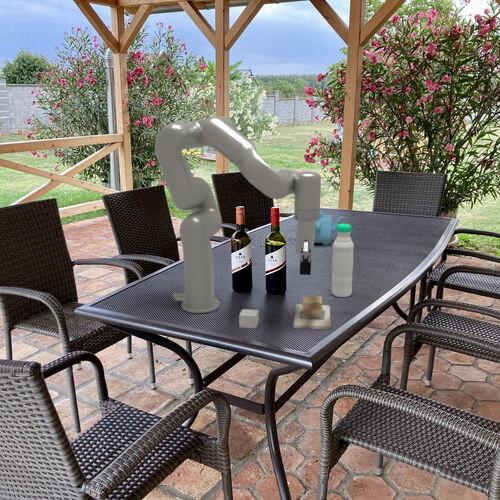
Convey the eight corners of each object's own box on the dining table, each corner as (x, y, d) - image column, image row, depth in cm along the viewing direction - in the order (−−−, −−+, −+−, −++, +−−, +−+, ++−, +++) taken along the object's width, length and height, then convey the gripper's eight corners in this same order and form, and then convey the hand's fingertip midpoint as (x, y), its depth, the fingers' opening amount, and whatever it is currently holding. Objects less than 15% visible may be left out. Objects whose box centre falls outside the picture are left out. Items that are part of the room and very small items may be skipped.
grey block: (239, 327, 156) (239, 315, 155) (242, 321, 161) (242, 309, 160) (255, 328, 155) (255, 316, 154) (258, 322, 160) (258, 310, 159)
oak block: (302, 318, 160) (302, 302, 158) (302, 310, 165) (302, 295, 164) (321, 318, 159) (322, 303, 158) (321, 311, 165) (321, 296, 163)
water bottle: (349, 290, 186) (352, 222, 179) (353, 297, 179) (356, 226, 172) (329, 291, 186) (331, 222, 179) (333, 298, 179) (335, 227, 172)
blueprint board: (293, 328, 155) (293, 324, 155) (295, 307, 171) (295, 304, 171) (330, 329, 154) (330, 326, 154) (329, 308, 170) (329, 305, 170)
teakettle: (317, 250, 239) (318, 218, 235) (290, 241, 254) (291, 212, 250) (346, 243, 250) (347, 213, 246) (319, 235, 264) (319, 207, 260)
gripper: (294, 208, 162) (293, 260, 167) (293, 220, 145) (292, 278, 150) (319, 208, 161) (317, 261, 166) (320, 220, 145) (318, 279, 149)
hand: (305, 269), depth 158 cm, fingers open, 9 cm apart
